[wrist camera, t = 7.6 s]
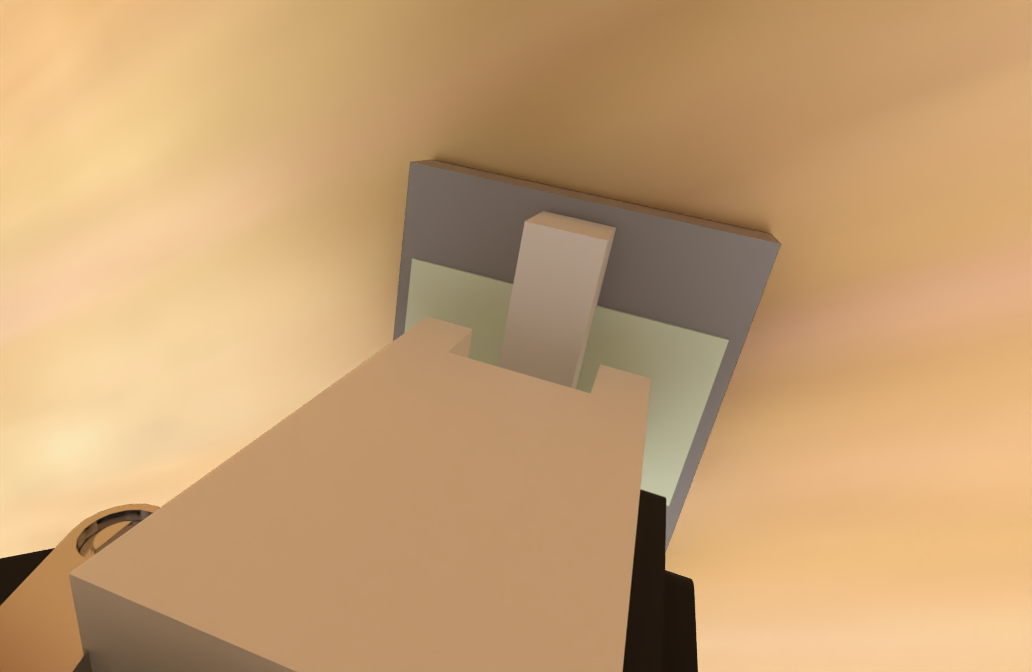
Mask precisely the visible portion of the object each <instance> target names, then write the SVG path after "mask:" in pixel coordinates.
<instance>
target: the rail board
mask: <svg viewBox="0 0 1032 672" xmlns="http://www.w3.org/2000/svg"><path fill="white" fill-rule="evenodd" d="M780 246H781V243H780V242H779V241H778V240H777V239H776V238H775V237H774V236H773V235H772V234H769V233H764V232H760V231H755V230H750V229H746V228H741V227H737V226H732V225H728V224H723V223H718V222H714V221H709V220H705V219H700V218H696V217H691V216H686V215H682V214H677V213H673V212H668V211H664V210H659V209H654V208H650V207H645V206H641V205H636V204H632V203H627V202H622V201H618V200H613V199H609V198H604V197H600V196H595V195H590V194H586V193H581V192H577V191H572V190H568V189H563V188H558V187H554V186H549V185H545V184H540V183H536V182H531V181H526V180H522V179H517V178H513V177H508V176H504V175H499V174H494V173H490V172H485V171H481V170H476V169H472V168H467V167H462V166H458V165H453V164H449V163H444V162H440V161H435V160H426V161H415V162H410V171H409V181H408V192H407V202H406V212H405V223H404V233H403V244H402V254H401V264H400V275H399V285H398V296H397V306H396V316H395V327H394V337H393V341H394V340H396V339H397V338H398V337H400V336H401V335H403V334H404V333H405V332H407V331H408V330H410V329H411V328H412V327H414V326H415V325H417V324H418V323H419V322H421V321H422V320H424V319H425V318H426V317H431V318H435V319H439V320H442V321H446V322H449V323H453V324H457V325H460V326H464V327H467V328H471V329H473V331H472V337H471V343H470V349H469V356H468V358H470V359H473V360H477V361H480V362H484V363H487V364H490V365H494V366H497V367H501V368H504V369H508V370H511V371H515V372H518V373H522V374H525V375H529V376H532V377H535V378H539V379H542V380H546V381H549V382H553V383H556V384H560V385H563V386H567V387H570V388H574V389H577V390H580V391H584V392H587V393H591V391H592V388H593V385H594V382H595V379H596V376H597V373H598V369H599V366H600V364H601V365H604V366H608V367H611V368H615V369H619V370H622V371H626V372H629V373H633V374H637V375H640V376H644V377H647V378H651V384H650V395H649V405H648V415H647V425H646V436H645V446H644V456H643V466H642V477H641V487H640V489H641V490H645V491H648V492H651V493H654V494H657V495H660V496H663V497H666V546H665V553H666V550H667V547H668V545H669V542H670V539H671V537H672V534H673V531H674V529H675V526H676V523H677V521H678V518H679V515H680V513H681V510H682V507H683V505H684V502H685V499H686V497H687V494H688V491H689V489H690V486H691V483H692V481H693V478H694V475H695V473H696V470H697V467H698V465H699V462H700V459H701V457H702V454H703V451H704V449H705V446H706V443H707V441H708V438H709V435H710V433H711V430H712V427H713V425H714V422H715V419H716V417H717V414H718V411H719V409H720V406H721V403H722V401H723V398H724V395H725V393H726V390H727V387H728V385H729V382H730V379H731V376H732V374H733V371H734V368H735V366H736V363H737V360H738V358H739V355H740V352H741V350H742V347H743V344H744V342H745V339H746V336H747V334H748V331H749V328H750V326H751V323H752V320H753V318H754V315H755V312H756V310H757V307H758V304H759V302H760V299H761V296H762V294H763V291H764V288H765V286H766V283H767V280H768V278H769V275H770V272H771V270H772V267H773V264H774V262H775V259H776V256H777V254H778V251H779V248H780Z"/></svg>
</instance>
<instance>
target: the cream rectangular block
mask: <svg viewBox="0 0 1032 672" xmlns="http://www.w3.org/2000/svg"><path fill="white" fill-rule="evenodd" d="M472 331H473V329H471V328H467V327H464V326H460V325H457V324H453V323H449V322H446V321H442V320H439V319H435V318H431V317H426V318H425V319H424V320H422V321H421V322H419V323H418V324H417V325H415V326H414V327H412V328H411V329H410V330H408V331H407V332H405V333H404V334H403V335H401V336H400V337H398V338H397V339H396V340H394V341H393V342H391V343H390V344H389V345H387V346H386V347H384V348H383V349H382V350H380V351H379V352H378V353H376V354H375V355H373V356H372V357H371V358H369V359H368V360H366V361H365V362H364V363H362V364H361V365H359V366H358V367H357V368H355V369H354V370H352V371H351V372H350V373H348V374H347V375H345V376H344V377H343V378H341V379H340V380H338V381H337V382H336V383H334V384H333V385H331V386H330V387H329V388H327V389H326V390H324V391H323V392H322V393H320V394H319V395H317V396H316V397H315V398H313V399H312V400H310V401H309V402H308V403H306V404H305V405H303V406H302V407H301V408H299V409H298V410H296V411H295V412H294V413H292V414H291V415H289V416H288V417H287V418H285V419H284V420H282V421H281V422H280V423H278V424H277V425H275V426H274V427H273V428H271V429H270V430H268V431H267V432H266V433H264V434H263V435H261V436H260V437H259V438H257V439H256V440H254V441H253V442H252V443H250V444H249V445H247V446H246V447H245V448H243V449H242V450H240V451H239V452H238V453H236V454H235V455H233V456H232V457H231V458H229V459H228V460H226V461H225V462H224V463H222V464H221V465H219V466H218V467H217V468H215V469H214V470H212V471H211V472H210V473H208V474H207V475H205V476H204V477H203V478H201V479H200V480H198V481H197V482H196V483H194V484H193V485H191V486H190V487H189V488H187V489H186V490H184V491H183V492H182V493H180V494H179V495H178V496H176V497H175V498H173V499H172V500H171V501H169V502H168V503H166V504H165V505H164V506H162V507H161V508H159V509H158V510H157V511H155V512H154V513H152V514H151V515H150V516H148V517H147V518H145V519H144V520H143V521H141V522H140V523H138V524H137V525H136V526H134V527H133V528H131V529H130V530H129V531H127V532H126V533H124V534H123V535H122V536H120V537H119V538H117V539H116V540H115V541H113V542H112V543H110V544H109V545H108V546H106V547H105V548H103V549H102V550H101V551H99V552H98V553H96V554H95V555H94V556H92V557H91V558H89V559H88V560H87V561H85V562H84V563H82V564H81V565H80V566H78V567H77V568H75V569H74V570H73V571H71V572H70V573H68V574H69V579H70V585H71V590H72V595H73V601H74V606H75V611H76V616H77V622H78V627H79V632H80V638H81V643H82V647H83V648H85V649H88V652H89V657H90V663H91V668H92V672H623V661H624V651H625V641H626V630H627V620H628V610H629V600H630V589H631V579H632V569H633V559H634V548H635V538H636V528H637V518H638V507H639V497H640V487H641V477H642V466H643V456H644V446H645V436H646V425H647V415H648V405H649V395H650V384H651V378H647V377H644V376H640V375H637V374H633V373H629V372H626V371H622V370H619V369H615V368H611V367H608V366H604V365H601V364H600V366H599V369H598V373H597V376H596V379H595V382H594V385H593V388H592V391H591V393H587V392H584V391H580V390H577V389H574V388H570V387H567V386H563V385H560V384H556V383H553V382H549V381H546V380H542V379H539V378H535V377H532V376H529V375H525V374H522V373H518V372H515V371H511V370H508V369H504V368H501V367H497V366H494V365H490V364H487V363H484V362H480V361H477V360H473V359H470V358H468V356H469V349H470V343H471V337H472Z"/></svg>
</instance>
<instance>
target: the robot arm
mask: <svg viewBox="0 0 1032 672" xmlns="http://www.w3.org/2000/svg"><path fill="white" fill-rule="evenodd" d="M159 508H160V507H158V506H154V505H149V504H128V505H122V506H117V507H113V508H110V509H107V510H104V511H101V512H98V513H97V514H95V515H93V516H91V517H89V518H87V519H85V520H84V521H83V522H81V523H80V524H79V525H78V526H76V527H75V528H74V529H73V530H72V531H71V532H70V533H69V534H68V535H67V536H66V537H65V538H64V539H63V540H62V541H61V542H60V543H59V544H58V546H57V547H56V548H53V549H48V550H43V551H37V552H32V553H27V554H22V555H17V556H11V557H6V558H1V559H0V672H92V668H91V663H90V657H89V652H88V649H85V648H83V647H82V643H81V638H80V632H79V627H78V622H77V616H76V611H75V606H74V601H73V595H72V590H71V585H70V579H69V574H68V573H70V572H71V571H73V570H74V569H75V568H77V567H78V566H80V565H81V564H82V563H84V562H85V561H87V560H88V559H89V558H91V557H92V556H94V555H95V554H96V553H98V552H99V551H101V550H102V549H103V548H105V547H106V546H108V545H109V544H110V543H112V542H113V541H115V540H116V539H117V538H119V537H120V536H122V535H123V534H124V533H126V532H127V531H129V530H130V529H131V528H133V527H134V526H136V525H137V524H138V523H140V522H141V521H143V520H144V519H145V518H147V517H148V516H150V515H151V514H152V513H154V512H155V511H157V510H158V509H159ZM665 546H666V497H663V496H660V495H657V494H654V493H651V492H648V491H645V490H641V489H640V497H639V507H638V518H637V528H636V538H635V548H634V559H633V569H632V579H631V589H630V600H629V610H628V620H627V630H626V641H625V651H624V661H623V672H698V665H697V642H696V619H695V596H694V584H693V581H692V579H690V578H687V577H684V576H681V575H678V574H675V573H672V572H669V571H666V570H665Z"/></svg>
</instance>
